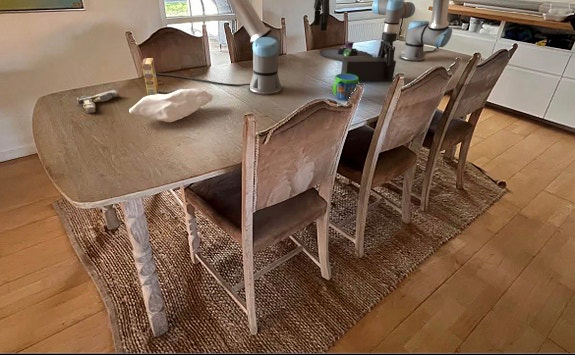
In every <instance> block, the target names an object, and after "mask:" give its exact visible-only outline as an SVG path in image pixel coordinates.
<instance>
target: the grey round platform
mask: <svg viewBox="0 0 575 355" xmlns="http://www.w3.org/2000/svg"><path fill="white" fill-rule="evenodd" d="M353 47H354V41H349V40H347V41H346V43H345V44H344V47H343V46H338V48H326V49H322V50H320V51H319V54H320V55H321V56H323V57H326V58H327V59H333V60H337V61H342V60H343V57H374V55H373V54H372V53H368V52H367V51H362V50H359V49H357V48H353Z"/></svg>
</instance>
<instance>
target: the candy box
mask: <svg viewBox="0 0 575 355" xmlns="http://www.w3.org/2000/svg"><path fill="white" fill-rule="evenodd" d="M141 66H142V73H143V78H144V82H145V87H146V92H147V96H150V95H156V94H159V91H160V90H159V84H158V79H157V75H156V73H157V72H156V66H155V62H154V58H153V57H151V58H150V57H149V58H146V57H145V58H143V60H142V63H141Z"/></svg>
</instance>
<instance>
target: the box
mask: <svg viewBox="0 0 575 355" xmlns="http://www.w3.org/2000/svg"><path fill="white" fill-rule="evenodd" d="M396 64H397V60H395V59H394V62H393V67H390V72H389V78H388V79H383V76H384V70H385V66H386V56H385V57H377V56H373V57H343V60H341V71H340V74H352V75H355V76H357V77H358V79H359V80H358V83H387V82H388V83H390V82H393V80H394V74H395V70H396V66H397V65H396Z"/></svg>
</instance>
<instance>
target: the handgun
mask: <svg viewBox="0 0 575 355" xmlns="http://www.w3.org/2000/svg"><path fill="white" fill-rule="evenodd" d="M119 96H120V94H119V92H118V91H117V90H116V89H112V90H108V91H105V92H104V91H103V92H101V93H96V94H94V95H86V94H85V95H84V94H83V95H81V96H80V97H77V98H76V101H77V104H78V105H82V108H83V109H84V110H85V113H87V114H91V113H95V112H96V104H95V103H98V102H106V101H109V100H111V99H113V98H117V97H119Z"/></svg>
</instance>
